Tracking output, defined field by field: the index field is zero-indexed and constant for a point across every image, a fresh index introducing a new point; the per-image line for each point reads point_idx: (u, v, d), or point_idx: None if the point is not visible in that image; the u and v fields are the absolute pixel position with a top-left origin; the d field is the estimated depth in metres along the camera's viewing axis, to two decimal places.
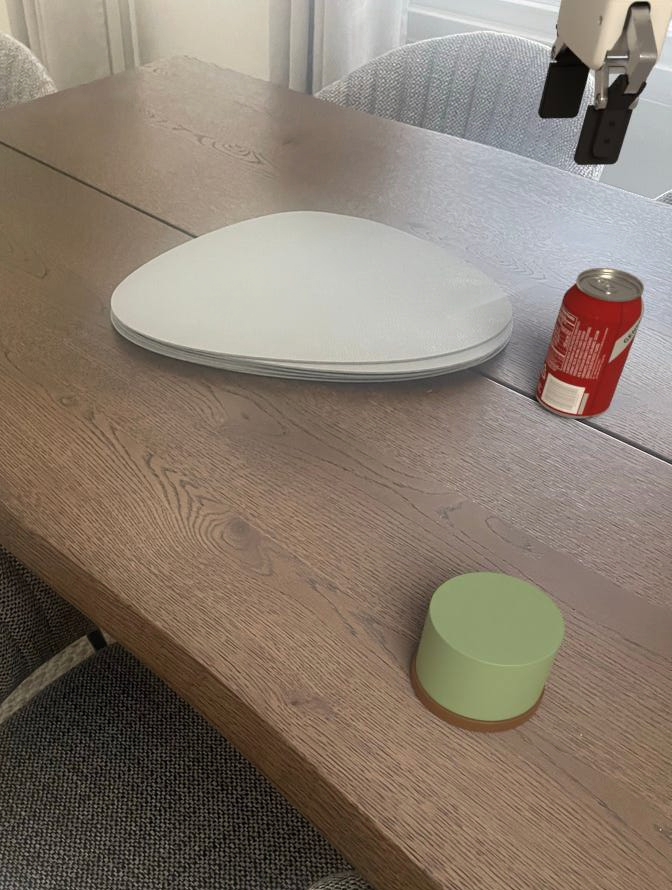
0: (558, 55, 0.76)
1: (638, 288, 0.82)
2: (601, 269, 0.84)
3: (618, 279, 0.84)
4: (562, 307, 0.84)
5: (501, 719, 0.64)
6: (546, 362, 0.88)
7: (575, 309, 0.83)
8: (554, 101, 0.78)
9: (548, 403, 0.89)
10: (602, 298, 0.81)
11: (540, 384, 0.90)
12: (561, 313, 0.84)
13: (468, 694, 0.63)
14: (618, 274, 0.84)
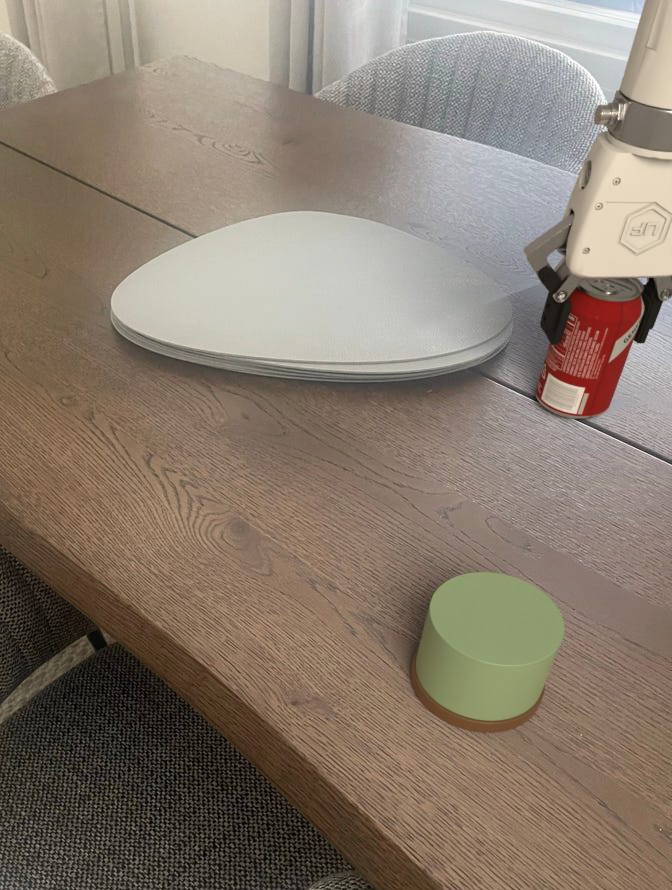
0: (647, 278, 0.83)
1: (638, 288, 0.82)
2: None
3: (618, 279, 0.84)
4: None
5: (501, 719, 0.64)
6: (546, 362, 0.88)
7: (575, 309, 0.83)
8: None
9: (548, 403, 0.89)
10: (602, 298, 0.81)
11: (539, 384, 0.90)
12: None
13: (468, 694, 0.63)
14: None
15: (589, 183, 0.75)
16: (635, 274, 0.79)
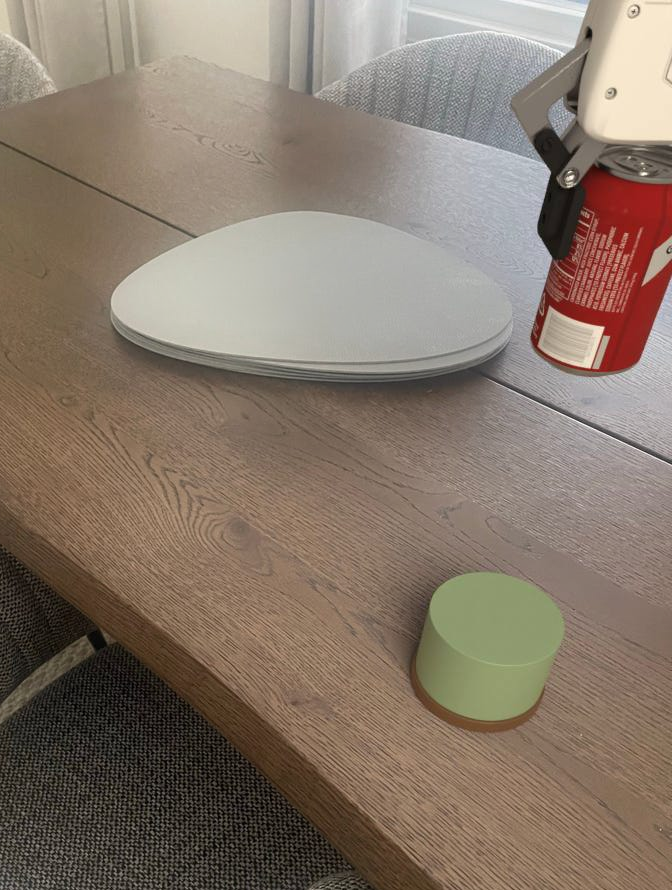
0: None
1: None
2: None
3: (658, 156, 0.54)
4: None
5: (501, 719, 0.64)
6: (546, 290, 0.58)
7: (592, 199, 0.53)
8: None
9: (548, 353, 0.59)
10: (634, 179, 0.51)
11: (536, 325, 0.60)
12: None
13: (468, 694, 0.63)
14: (658, 149, 0.54)
15: None
16: None
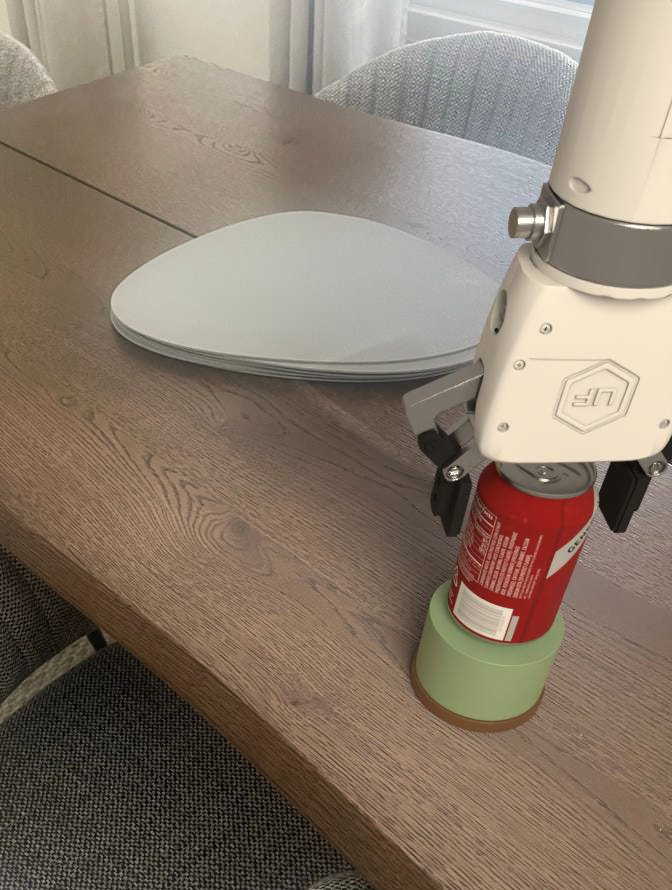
0: None
1: (589, 472, 0.54)
2: None
3: None
4: (476, 495, 0.56)
5: (501, 719, 0.64)
6: (458, 564, 0.60)
7: (494, 504, 0.54)
8: (606, 492, 0.56)
9: (462, 621, 0.61)
10: (532, 493, 0.53)
11: (451, 591, 0.61)
12: (475, 503, 0.56)
13: (468, 694, 0.63)
14: None
15: (503, 327, 0.46)
16: (582, 459, 0.50)
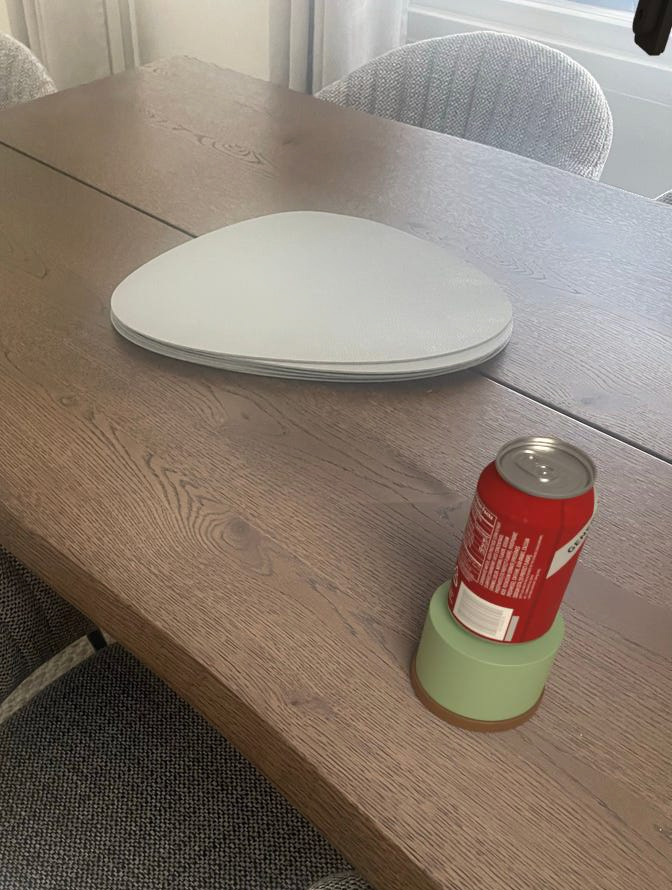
0: None
1: (589, 472, 0.54)
2: (534, 437, 0.56)
3: (560, 455, 0.55)
4: (476, 495, 0.56)
5: (501, 719, 0.64)
6: (458, 564, 0.60)
7: (494, 504, 0.54)
8: None
9: (462, 621, 0.61)
10: (532, 493, 0.53)
11: (451, 591, 0.61)
12: (475, 503, 0.56)
13: (468, 694, 0.63)
14: (560, 446, 0.56)
15: None
16: None
